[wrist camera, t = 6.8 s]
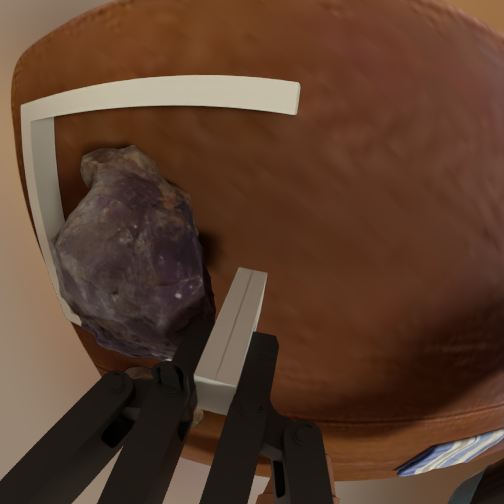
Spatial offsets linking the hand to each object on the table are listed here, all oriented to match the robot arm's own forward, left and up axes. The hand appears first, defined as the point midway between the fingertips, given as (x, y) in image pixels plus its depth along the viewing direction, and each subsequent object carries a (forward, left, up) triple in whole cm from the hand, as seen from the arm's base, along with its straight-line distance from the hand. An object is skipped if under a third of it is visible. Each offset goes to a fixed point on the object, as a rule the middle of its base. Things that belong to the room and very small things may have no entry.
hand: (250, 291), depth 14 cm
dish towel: (-48, +39, -4) cm, 62 cm away
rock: (+6, 0, -4) cm, 7 cm away
